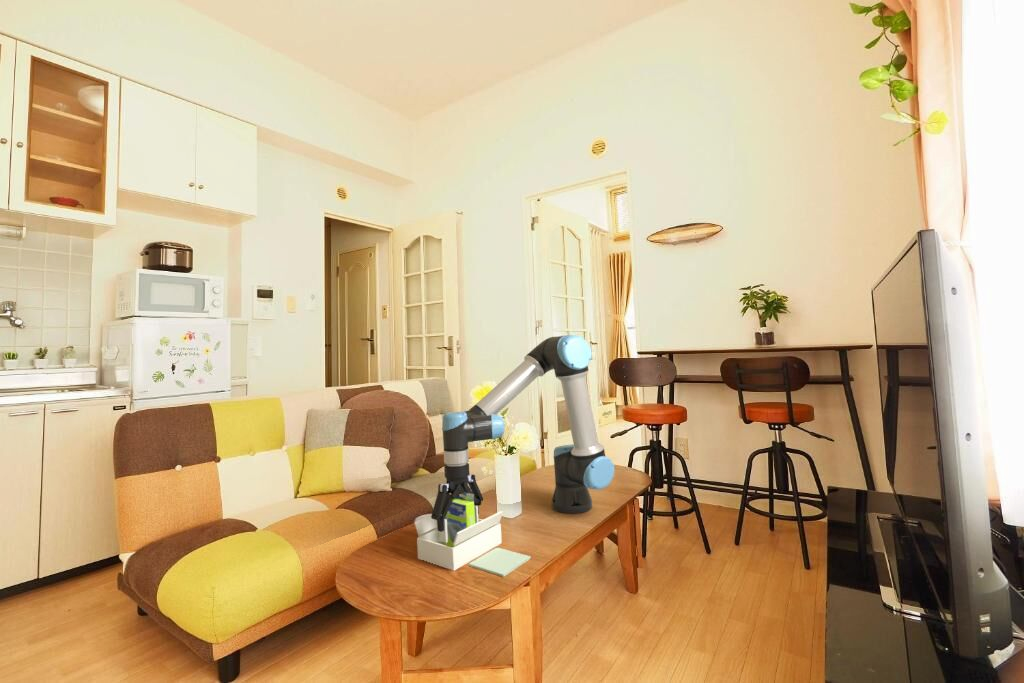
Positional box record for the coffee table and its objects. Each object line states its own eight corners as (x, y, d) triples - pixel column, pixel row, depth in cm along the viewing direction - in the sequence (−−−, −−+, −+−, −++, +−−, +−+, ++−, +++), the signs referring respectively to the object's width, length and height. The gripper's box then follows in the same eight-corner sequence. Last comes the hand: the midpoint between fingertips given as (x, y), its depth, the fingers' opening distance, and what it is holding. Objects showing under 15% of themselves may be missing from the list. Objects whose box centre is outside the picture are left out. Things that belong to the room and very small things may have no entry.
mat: (496, 549, 140) (496, 547, 140) (530, 558, 132) (530, 556, 132) (468, 565, 130) (468, 563, 130) (503, 576, 122) (503, 574, 122)
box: (444, 549, 142) (441, 492, 142) (454, 544, 145) (451, 489, 146) (468, 557, 135) (465, 498, 136) (478, 552, 138) (475, 494, 139)
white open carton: (466, 533, 153) (465, 515, 153) (501, 543, 144) (500, 523, 144) (417, 558, 136) (416, 538, 136) (453, 570, 127) (452, 548, 128)
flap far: (464, 514, 153) (460, 502, 154) (465, 514, 153) (461, 502, 154) (418, 535, 137) (413, 522, 138) (419, 535, 137) (414, 521, 138)
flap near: (498, 521, 144) (501, 510, 143) (499, 522, 144) (503, 511, 143) (453, 544, 128) (456, 532, 127) (454, 545, 128) (458, 533, 127)
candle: (414, 535, 154) (413, 516, 155) (441, 530, 157) (440, 512, 157) (417, 545, 146) (416, 525, 146) (445, 540, 149) (444, 520, 149)
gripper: (474, 454, 153) (477, 518, 153) (416, 471, 133) (420, 545, 133) (492, 456, 149) (495, 522, 148) (434, 474, 129) (438, 551, 128)
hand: (459, 533), depth 140 cm, fingers open, 13 cm apart
